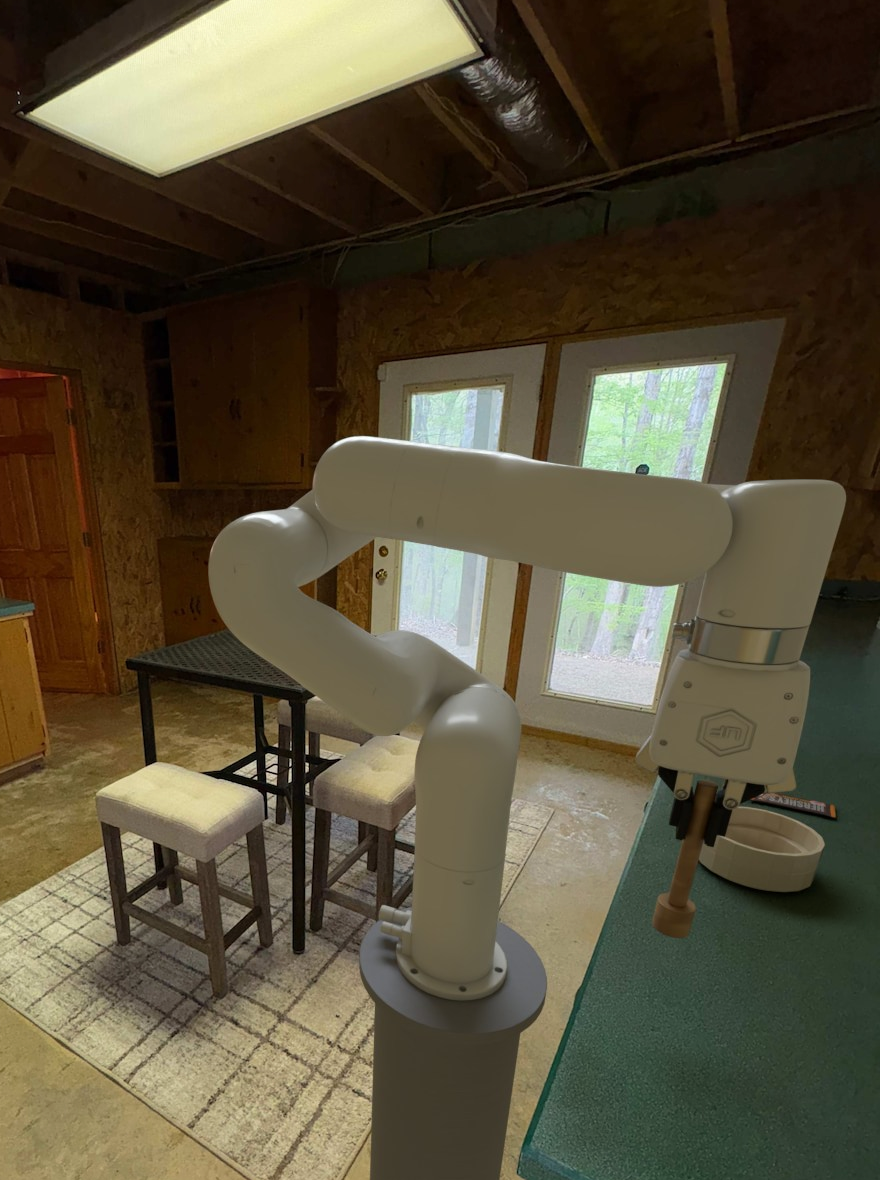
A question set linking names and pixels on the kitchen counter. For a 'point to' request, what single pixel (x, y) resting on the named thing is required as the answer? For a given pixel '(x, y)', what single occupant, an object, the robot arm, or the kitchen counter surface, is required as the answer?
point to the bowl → (765, 851)
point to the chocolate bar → (797, 803)
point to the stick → (686, 868)
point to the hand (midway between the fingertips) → (694, 835)
